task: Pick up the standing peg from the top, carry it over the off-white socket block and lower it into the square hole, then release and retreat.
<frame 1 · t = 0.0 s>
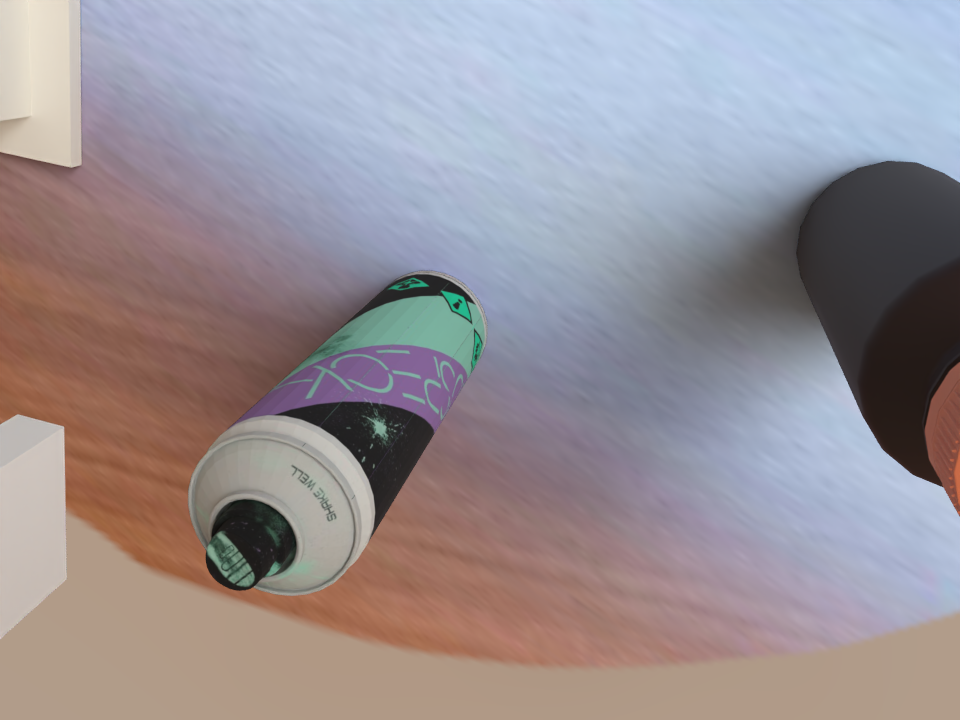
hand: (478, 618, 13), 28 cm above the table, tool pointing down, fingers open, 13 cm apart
spray can: (431, 325, 42), on the table
bottle: (882, 242, 37), on the table
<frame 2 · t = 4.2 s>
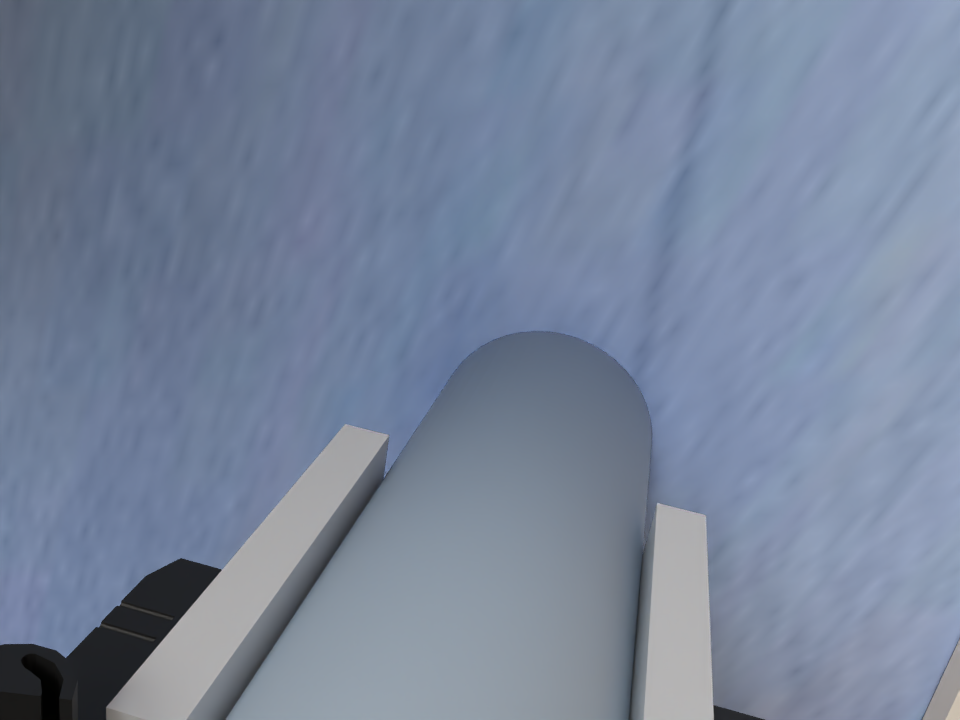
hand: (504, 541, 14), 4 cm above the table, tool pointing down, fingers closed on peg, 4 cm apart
peg: (542, 433, 18), on the table, touching gripper
when the fingers open (6 cm above the table, at t = 9.1 s): peg stays where it is, resting on socket.
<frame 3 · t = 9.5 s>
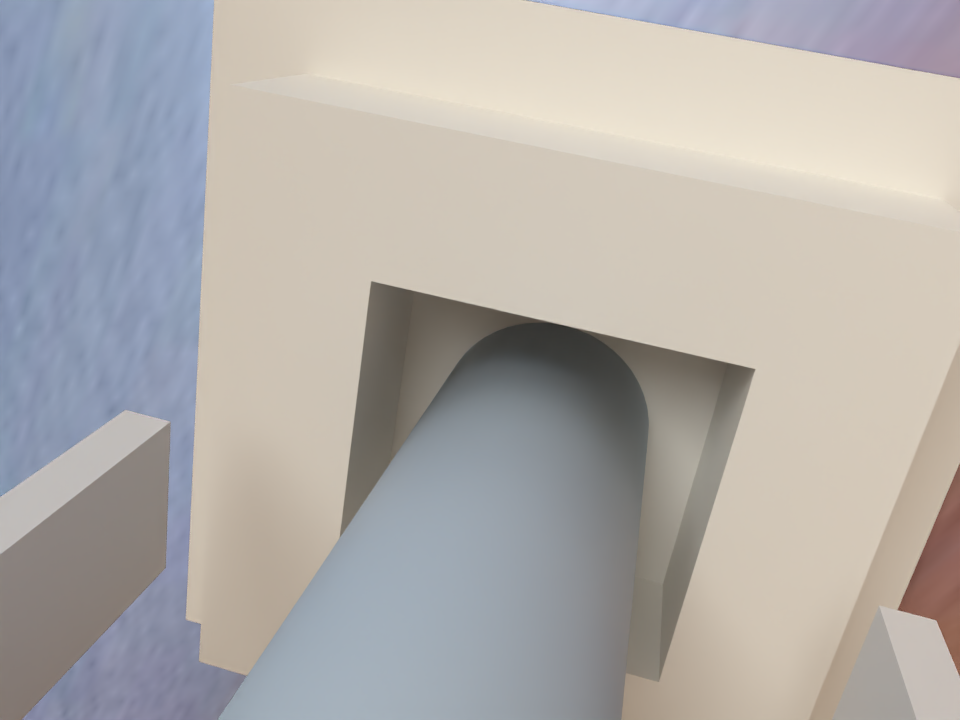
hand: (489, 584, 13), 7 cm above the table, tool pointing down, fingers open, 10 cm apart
socket: (552, 404, 20), on the table
peg: (543, 421, 19), point 1 cm above the table, touching socket
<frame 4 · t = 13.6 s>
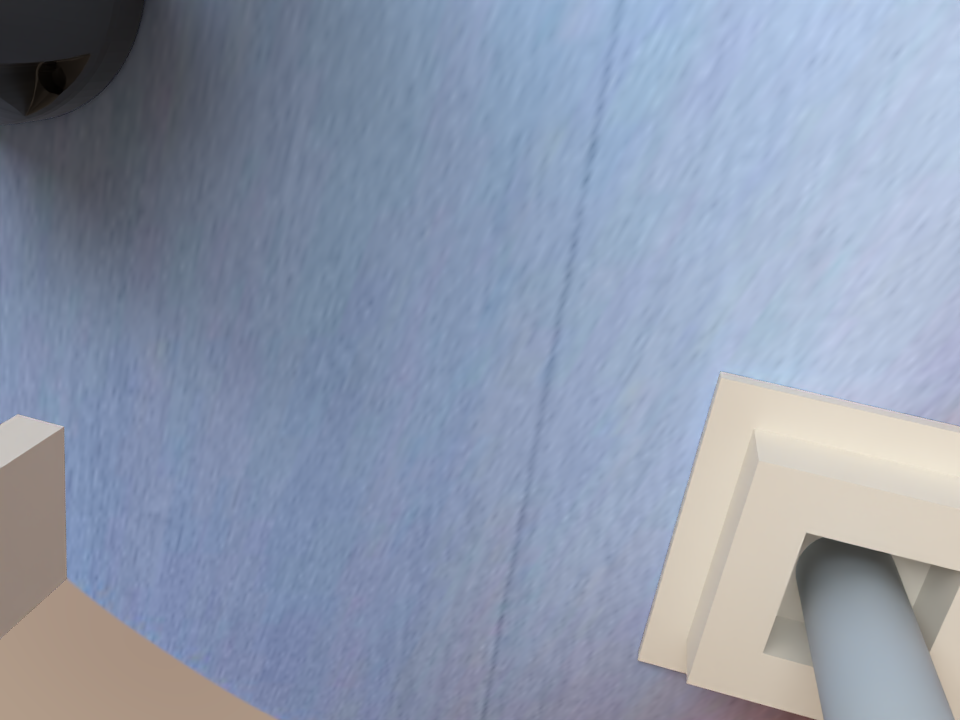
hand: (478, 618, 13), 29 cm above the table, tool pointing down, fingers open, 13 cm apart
socket: (844, 563, 42), on the table
peg: (845, 573, 42), point 1 cm above the table, touching socket
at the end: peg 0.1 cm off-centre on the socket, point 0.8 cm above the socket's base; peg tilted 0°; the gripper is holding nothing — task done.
